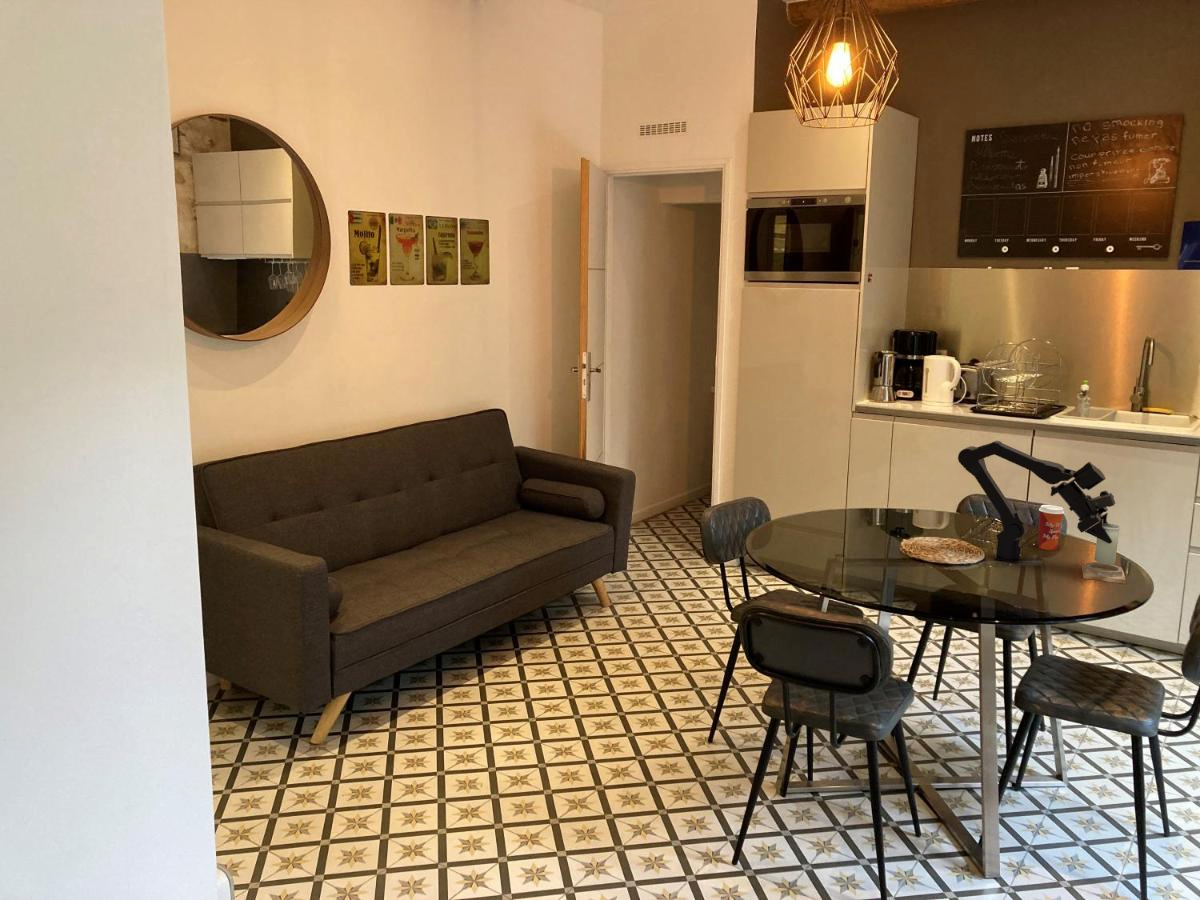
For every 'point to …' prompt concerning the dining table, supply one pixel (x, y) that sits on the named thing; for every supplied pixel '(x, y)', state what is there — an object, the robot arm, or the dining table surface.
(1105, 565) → the seat board
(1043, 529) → the paper cup
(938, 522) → the dining table surface
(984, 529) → the dining table surface
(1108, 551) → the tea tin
